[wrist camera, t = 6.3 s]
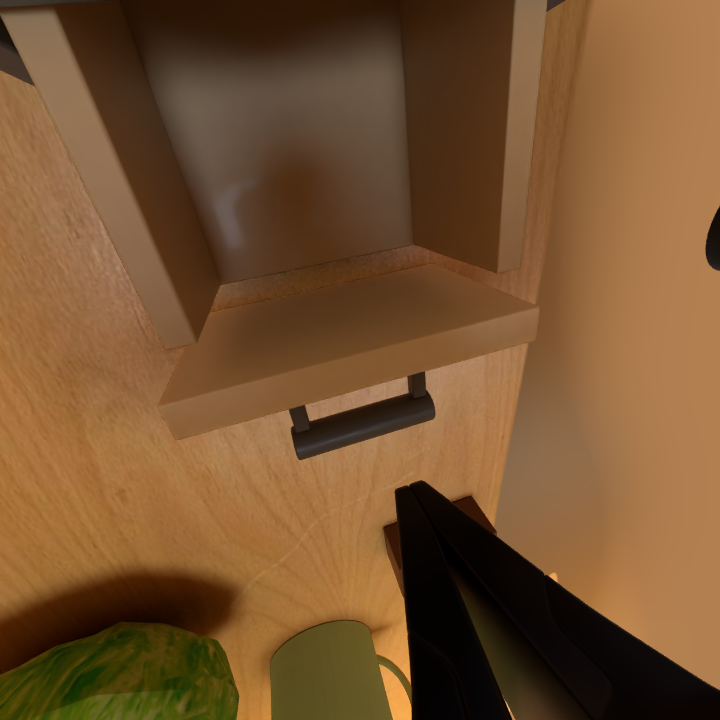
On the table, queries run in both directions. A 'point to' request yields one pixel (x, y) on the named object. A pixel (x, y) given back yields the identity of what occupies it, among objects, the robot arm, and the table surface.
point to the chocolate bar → (393, 538)
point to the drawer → (301, 186)
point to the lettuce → (124, 678)
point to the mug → (331, 675)
